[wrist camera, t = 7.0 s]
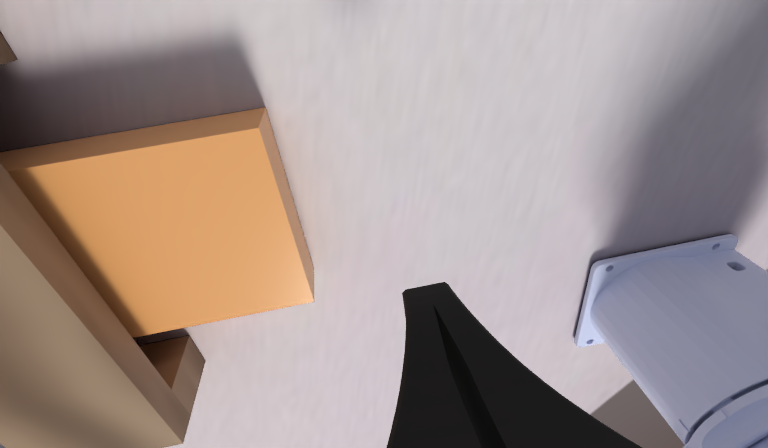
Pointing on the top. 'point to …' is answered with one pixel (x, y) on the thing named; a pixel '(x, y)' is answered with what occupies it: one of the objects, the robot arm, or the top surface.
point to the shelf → (77, 349)
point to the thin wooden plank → (174, 219)
